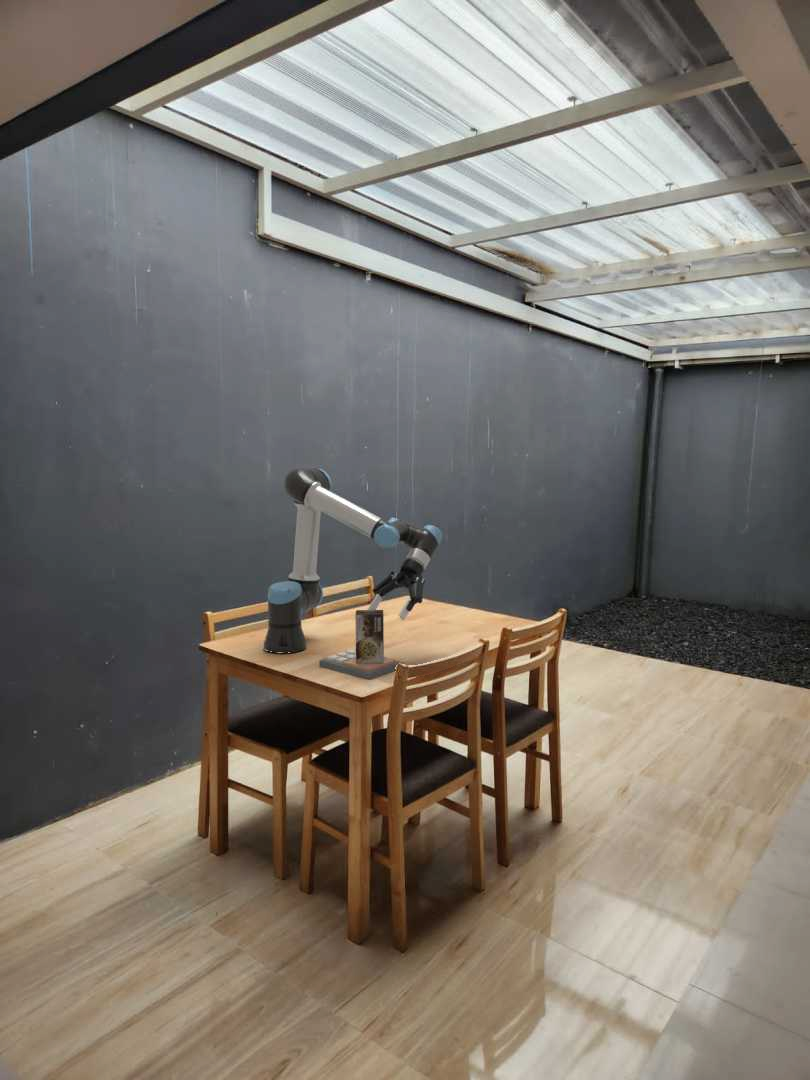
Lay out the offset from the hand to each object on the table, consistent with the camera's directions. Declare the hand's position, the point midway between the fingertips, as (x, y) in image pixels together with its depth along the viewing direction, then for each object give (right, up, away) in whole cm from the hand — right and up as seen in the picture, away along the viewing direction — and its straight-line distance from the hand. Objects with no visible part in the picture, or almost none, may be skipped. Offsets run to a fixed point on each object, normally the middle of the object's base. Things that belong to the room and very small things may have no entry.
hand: (385, 614), depth 227 cm
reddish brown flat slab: (-5, -16, -3) cm, 18 cm away
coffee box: (-5, -15, -3) cm, 16 cm away
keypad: (-8, -17, 0) cm, 19 cm away
